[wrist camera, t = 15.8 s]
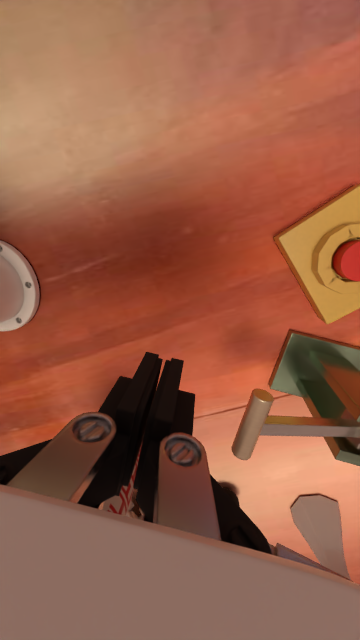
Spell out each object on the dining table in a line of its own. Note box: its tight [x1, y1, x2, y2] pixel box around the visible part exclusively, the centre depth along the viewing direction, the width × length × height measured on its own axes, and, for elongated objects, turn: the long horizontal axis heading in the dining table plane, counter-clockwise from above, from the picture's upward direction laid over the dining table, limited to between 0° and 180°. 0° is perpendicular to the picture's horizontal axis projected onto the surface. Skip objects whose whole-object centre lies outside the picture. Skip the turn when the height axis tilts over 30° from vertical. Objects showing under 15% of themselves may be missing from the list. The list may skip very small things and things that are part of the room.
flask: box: [291, 495, 351, 580], centre depth 35 cm, size 7×7×10 cm
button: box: [333, 240, 360, 281], centre depth 24 cm, size 4×4×2 cm
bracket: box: [269, 330, 360, 466], centre depth 27 cm, size 10×8×13 cm
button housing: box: [273, 184, 360, 324], centre depth 26 cm, size 11×9×4 cm
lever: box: [232, 389, 360, 460], centre depth 21 cm, size 13×6×2 cm, turn 78°
